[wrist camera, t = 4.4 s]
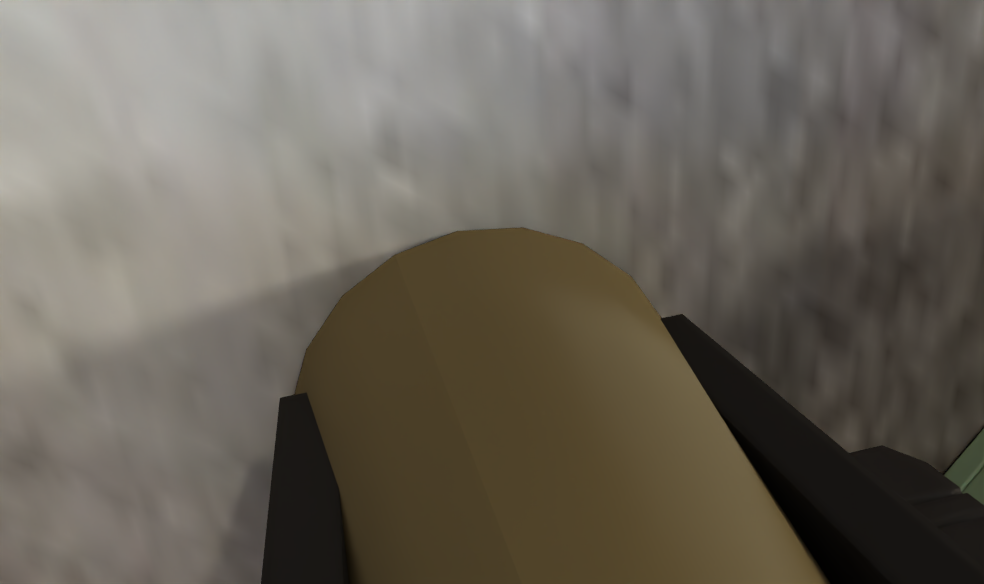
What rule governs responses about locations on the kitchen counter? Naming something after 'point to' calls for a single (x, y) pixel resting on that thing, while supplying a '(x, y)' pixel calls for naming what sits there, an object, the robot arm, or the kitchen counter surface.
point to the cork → (531, 429)
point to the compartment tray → (970, 469)
